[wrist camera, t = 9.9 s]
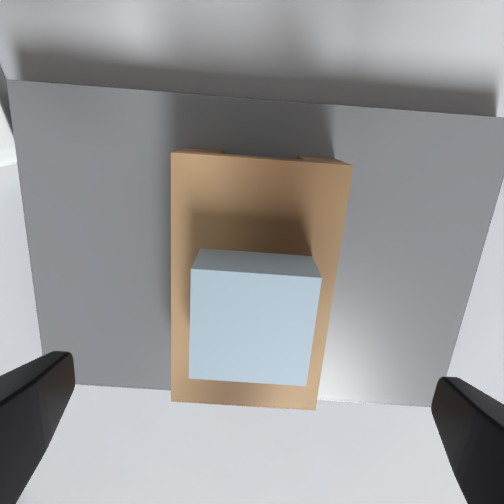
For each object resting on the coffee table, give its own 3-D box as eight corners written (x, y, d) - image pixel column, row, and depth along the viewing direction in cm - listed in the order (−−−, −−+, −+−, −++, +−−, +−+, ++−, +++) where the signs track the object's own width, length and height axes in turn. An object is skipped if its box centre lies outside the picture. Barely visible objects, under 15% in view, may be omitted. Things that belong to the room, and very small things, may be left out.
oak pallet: (184, 358, 18) (171, 401, 15) (186, 147, 15) (170, 152, 12) (305, 366, 18) (315, 410, 15) (334, 158, 15) (353, 165, 12)
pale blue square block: (197, 345, 14) (188, 378, 12) (200, 248, 13) (190, 268, 11) (299, 352, 14) (306, 386, 12) (312, 256, 13) (321, 277, 11)
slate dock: (61, 364, 20) (46, 382, 19) (29, 83, 15) (6, 79, 14) (424, 388, 20) (436, 407, 19) (496, 119, 16) (520, 118, 14)
